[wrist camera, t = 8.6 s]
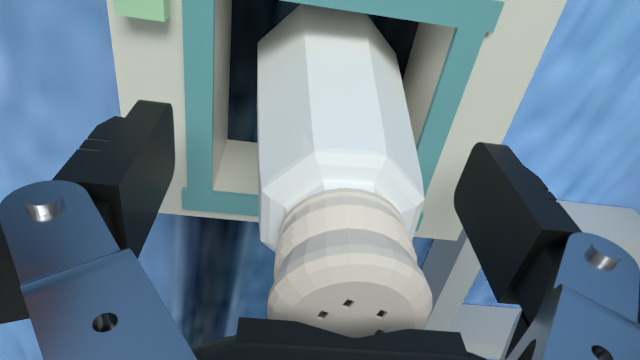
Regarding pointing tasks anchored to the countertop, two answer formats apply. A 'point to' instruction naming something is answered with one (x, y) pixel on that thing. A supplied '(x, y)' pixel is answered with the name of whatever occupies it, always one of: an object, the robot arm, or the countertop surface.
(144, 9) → the port
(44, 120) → the countertop surface
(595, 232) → the square picture frame
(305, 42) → the pepper shaker
